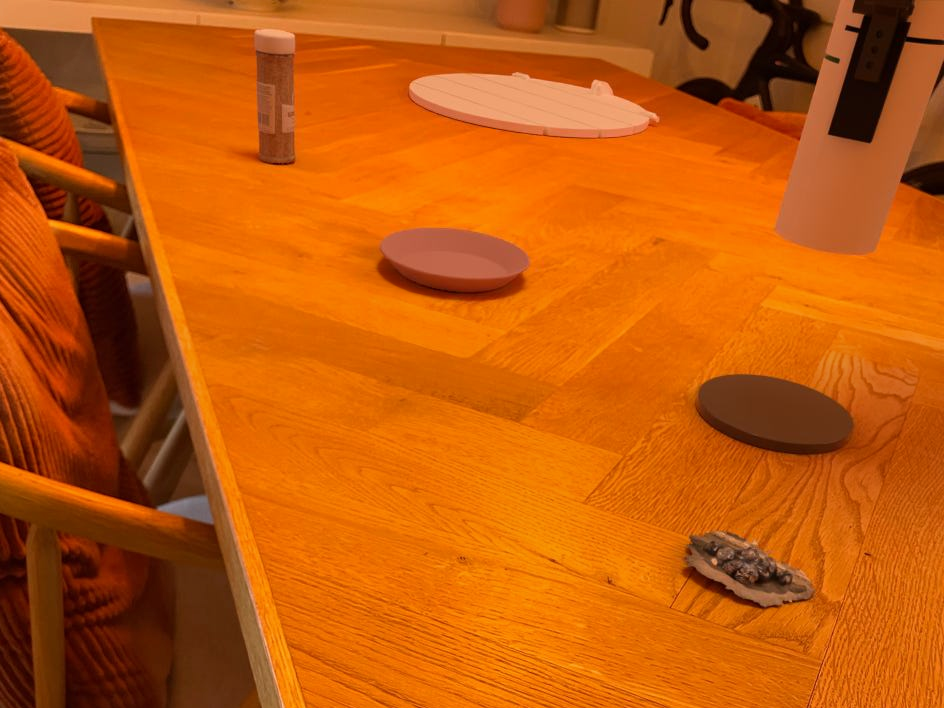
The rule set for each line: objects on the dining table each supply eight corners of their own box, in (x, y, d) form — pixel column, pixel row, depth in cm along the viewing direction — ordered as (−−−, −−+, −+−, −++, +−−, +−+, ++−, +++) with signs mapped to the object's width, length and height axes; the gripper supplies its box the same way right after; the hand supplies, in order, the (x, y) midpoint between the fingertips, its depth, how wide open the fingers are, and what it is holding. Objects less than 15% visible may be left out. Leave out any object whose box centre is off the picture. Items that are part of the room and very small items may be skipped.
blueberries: (688, 529, 62) (695, 503, 61) (816, 560, 61) (826, 534, 60) (674, 586, 57) (682, 559, 56) (814, 622, 56) (825, 595, 54)
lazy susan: (531, 77, 183) (533, 56, 181) (699, 127, 162) (705, 104, 160) (359, 85, 160) (360, 61, 158) (530, 146, 139) (534, 119, 137)
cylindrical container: (831, 259, 66) (996, -238, 50) (753, 226, 70) (883, -241, 55) (896, 249, 70) (1069, -217, 54) (818, 218, 74) (957, -222, 58)
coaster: (862, 411, 79) (866, 402, 79) (834, 470, 71) (838, 460, 70) (719, 370, 83) (721, 361, 82) (675, 421, 74) (678, 411, 74)
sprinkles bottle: (300, 164, 119) (300, 36, 111) (264, 165, 117) (261, 34, 109) (288, 154, 122) (287, 28, 114) (252, 155, 120) (249, 27, 112)
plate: (548, 299, 92) (551, 278, 90) (398, 300, 88) (399, 277, 86) (500, 248, 102) (503, 228, 101) (365, 246, 98) (365, 226, 97)
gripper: (960, -324, 60) (833, 99, 74) (917, -405, 45) (769, 140, 60) (1094, -316, 57) (935, 119, 72) (1093, -398, 43) (895, 167, 57)
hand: (860, 128), depth 66 cm, fingers closed on cylindrical container, 7 cm apart
